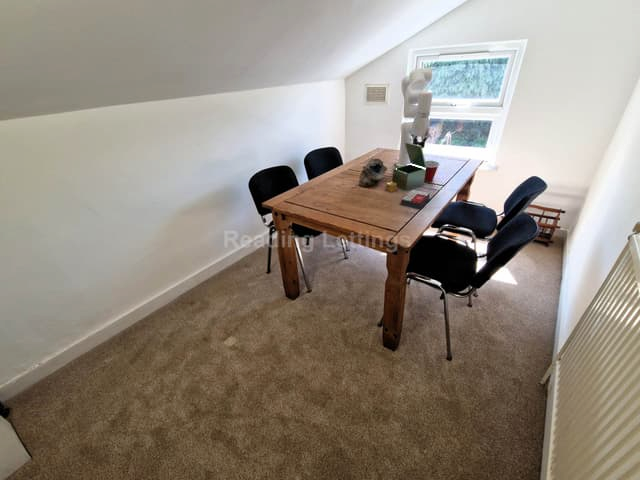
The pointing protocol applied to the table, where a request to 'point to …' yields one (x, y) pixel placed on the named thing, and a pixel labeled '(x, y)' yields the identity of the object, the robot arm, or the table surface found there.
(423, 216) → the table surface
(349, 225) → the table surface
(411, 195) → the calculator
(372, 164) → the hollow geode rock
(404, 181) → the bin
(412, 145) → the bin lid
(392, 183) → the block
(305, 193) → the table surface
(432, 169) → the plastic cup
